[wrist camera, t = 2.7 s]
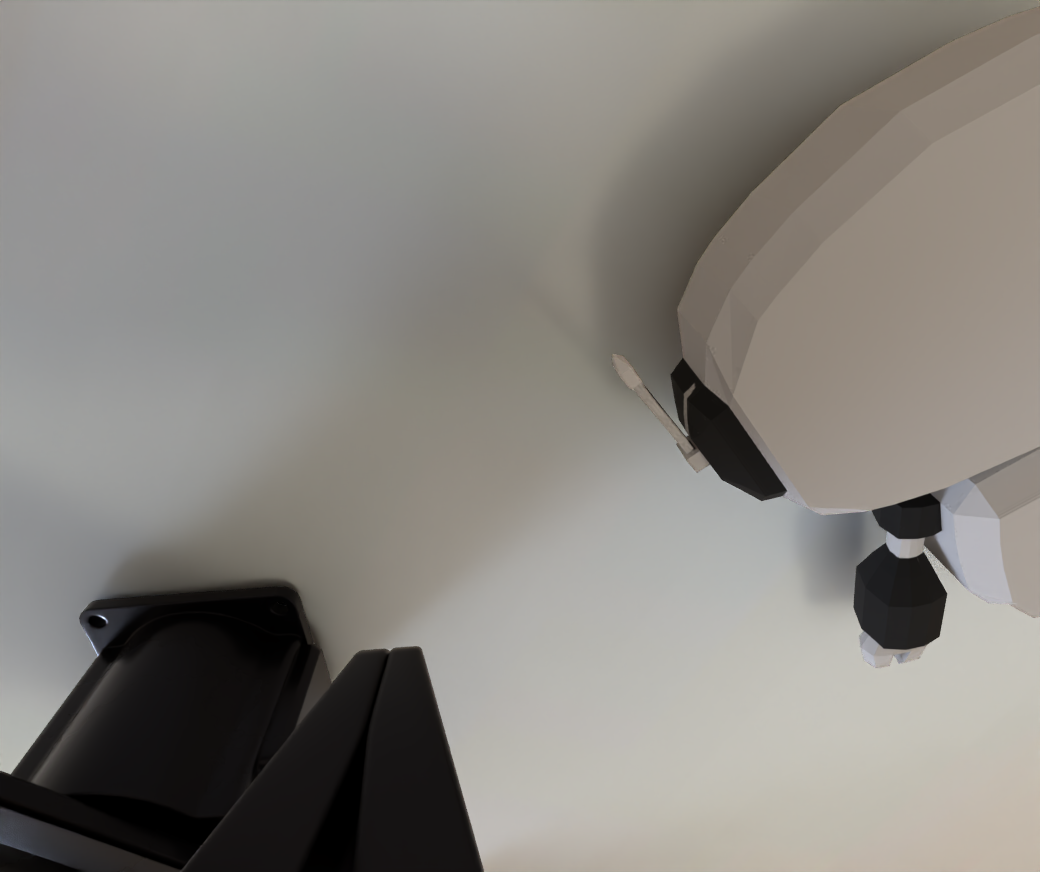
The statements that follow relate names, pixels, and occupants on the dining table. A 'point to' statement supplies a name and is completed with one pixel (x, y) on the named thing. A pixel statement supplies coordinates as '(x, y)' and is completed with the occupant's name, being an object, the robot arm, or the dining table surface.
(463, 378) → the dining table surface
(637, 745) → the dining table surface
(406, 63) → the dining table surface
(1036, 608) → the robot toy
